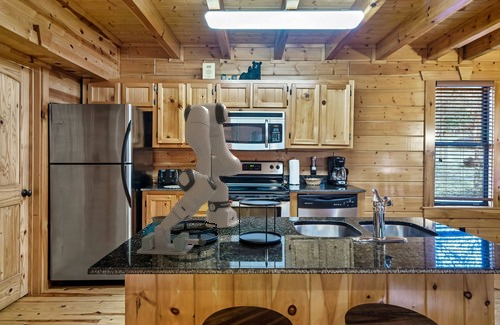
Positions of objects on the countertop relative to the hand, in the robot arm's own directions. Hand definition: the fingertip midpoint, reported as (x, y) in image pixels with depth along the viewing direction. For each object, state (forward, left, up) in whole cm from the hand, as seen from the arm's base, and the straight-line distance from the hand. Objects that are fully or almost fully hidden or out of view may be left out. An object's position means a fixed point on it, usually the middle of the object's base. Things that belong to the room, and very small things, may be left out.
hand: (163, 230), depth 136 cm
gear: (-10, -16, -8) cm, 21 cm away
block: (0, 0, -7) cm, 7 cm away
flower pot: (-18, -20, -8) cm, 28 cm away
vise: (0, +1, -8) cm, 8 cm away
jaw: (-5, +11, -7) cm, 14 cm away
